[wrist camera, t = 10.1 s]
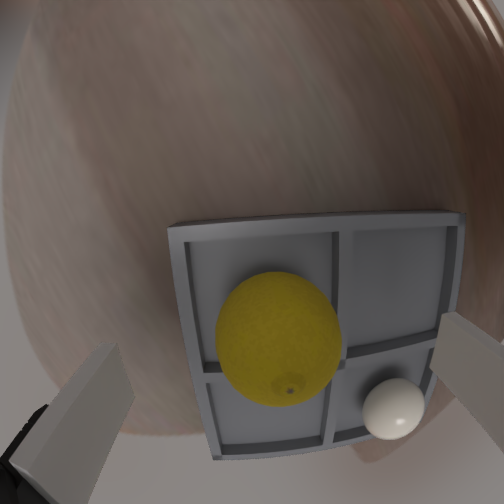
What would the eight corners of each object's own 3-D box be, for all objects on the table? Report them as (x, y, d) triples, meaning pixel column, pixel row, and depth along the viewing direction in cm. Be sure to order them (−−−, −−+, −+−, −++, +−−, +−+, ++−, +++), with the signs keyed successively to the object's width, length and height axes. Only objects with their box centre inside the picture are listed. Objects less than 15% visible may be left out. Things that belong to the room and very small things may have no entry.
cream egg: (412, 359, 18) (444, 395, 13) (400, 403, 19) (424, 439, 14) (358, 373, 18) (384, 416, 13) (349, 417, 19) (368, 459, 14)
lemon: (332, 307, 16) (389, 389, 9) (258, 357, 17) (268, 456, 9) (281, 234, 15) (318, 281, 8) (201, 292, 16) (170, 378, 8)
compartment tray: (446, 210, 16) (465, 213, 14) (410, 408, 20) (420, 422, 18) (176, 222, 16) (167, 227, 14) (214, 441, 20) (213, 460, 18)
